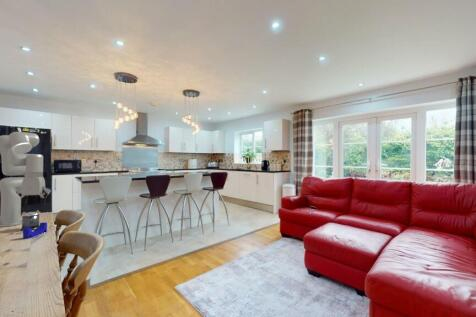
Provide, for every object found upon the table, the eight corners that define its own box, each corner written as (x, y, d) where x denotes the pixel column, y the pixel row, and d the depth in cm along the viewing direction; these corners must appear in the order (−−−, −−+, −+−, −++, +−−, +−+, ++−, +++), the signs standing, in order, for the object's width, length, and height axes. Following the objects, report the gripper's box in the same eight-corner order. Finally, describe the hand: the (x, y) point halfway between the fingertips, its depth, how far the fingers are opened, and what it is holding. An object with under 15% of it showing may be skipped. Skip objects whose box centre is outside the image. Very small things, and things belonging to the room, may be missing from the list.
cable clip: (39, 232, 135) (39, 222, 135) (46, 232, 135) (47, 222, 135) (20, 239, 123) (20, 228, 123) (28, 239, 123) (28, 228, 123)
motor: (20, 228, 140) (20, 211, 141) (39, 226, 147) (39, 209, 147) (21, 232, 134) (21, 214, 134) (40, 229, 141) (41, 211, 141)
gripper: (12, 175, 125) (11, 206, 125) (45, 175, 127) (44, 205, 127) (23, 174, 132) (22, 203, 132) (54, 174, 134) (54, 203, 134)
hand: (33, 204), depth 129 cm, fingers open, 9 cm apart
